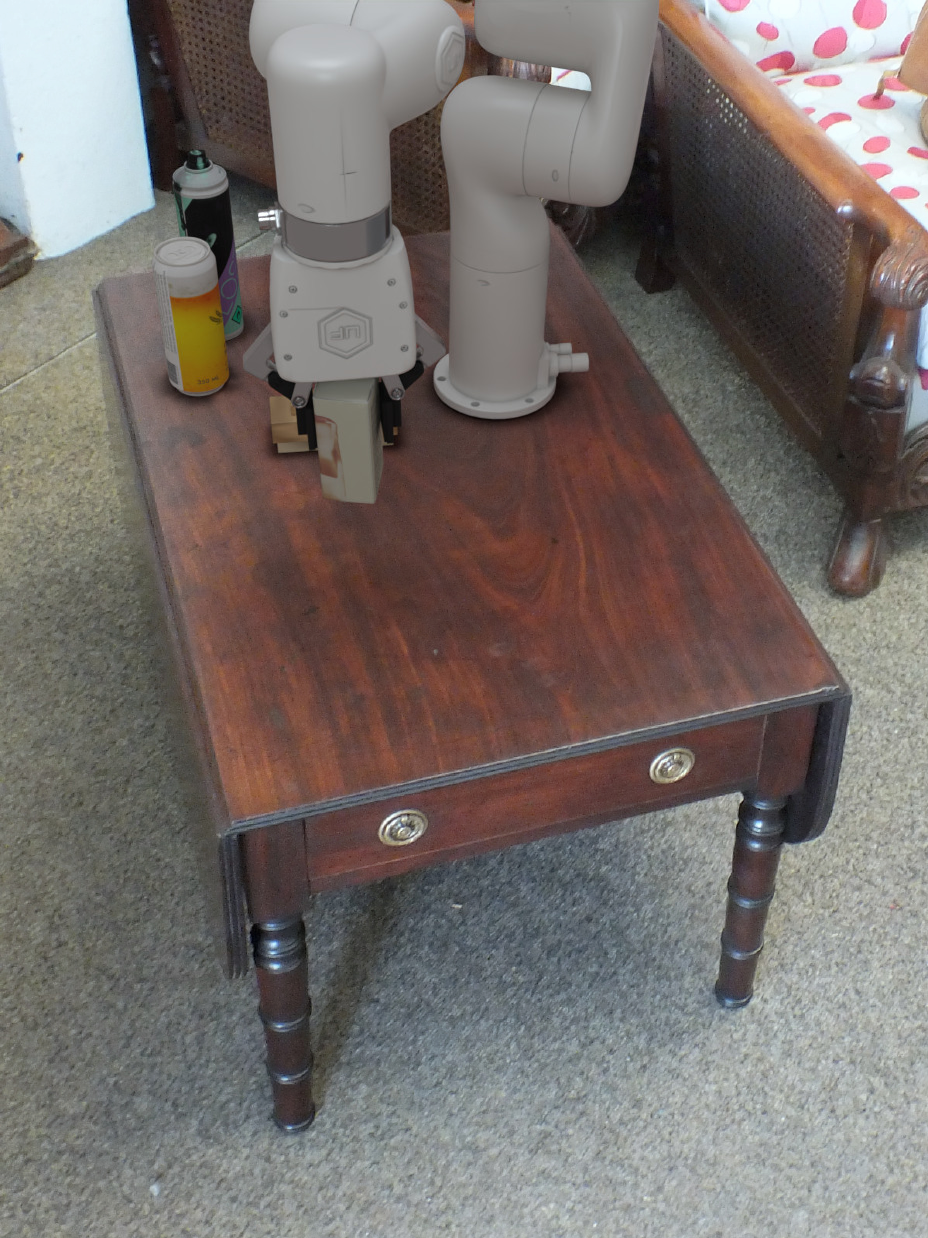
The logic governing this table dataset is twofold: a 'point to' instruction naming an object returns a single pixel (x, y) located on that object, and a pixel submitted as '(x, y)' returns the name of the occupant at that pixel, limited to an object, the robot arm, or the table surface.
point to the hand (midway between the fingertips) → (349, 434)
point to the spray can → (211, 227)
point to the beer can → (190, 315)
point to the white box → (349, 439)
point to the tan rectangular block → (291, 426)
